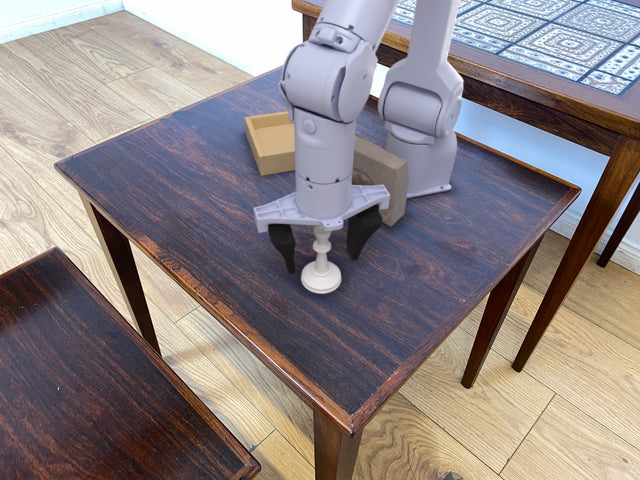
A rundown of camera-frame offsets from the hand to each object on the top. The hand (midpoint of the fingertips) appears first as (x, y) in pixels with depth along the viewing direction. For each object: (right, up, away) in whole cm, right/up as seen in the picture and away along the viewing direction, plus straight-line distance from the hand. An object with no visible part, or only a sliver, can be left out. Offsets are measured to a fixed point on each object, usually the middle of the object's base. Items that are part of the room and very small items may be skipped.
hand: (321, 261), depth 59 cm
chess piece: (0, -2, +2) cm, 3 cm away
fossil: (+6, +8, +13) cm, 16 cm away
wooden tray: (-3, +18, +22) cm, 29 cm away
